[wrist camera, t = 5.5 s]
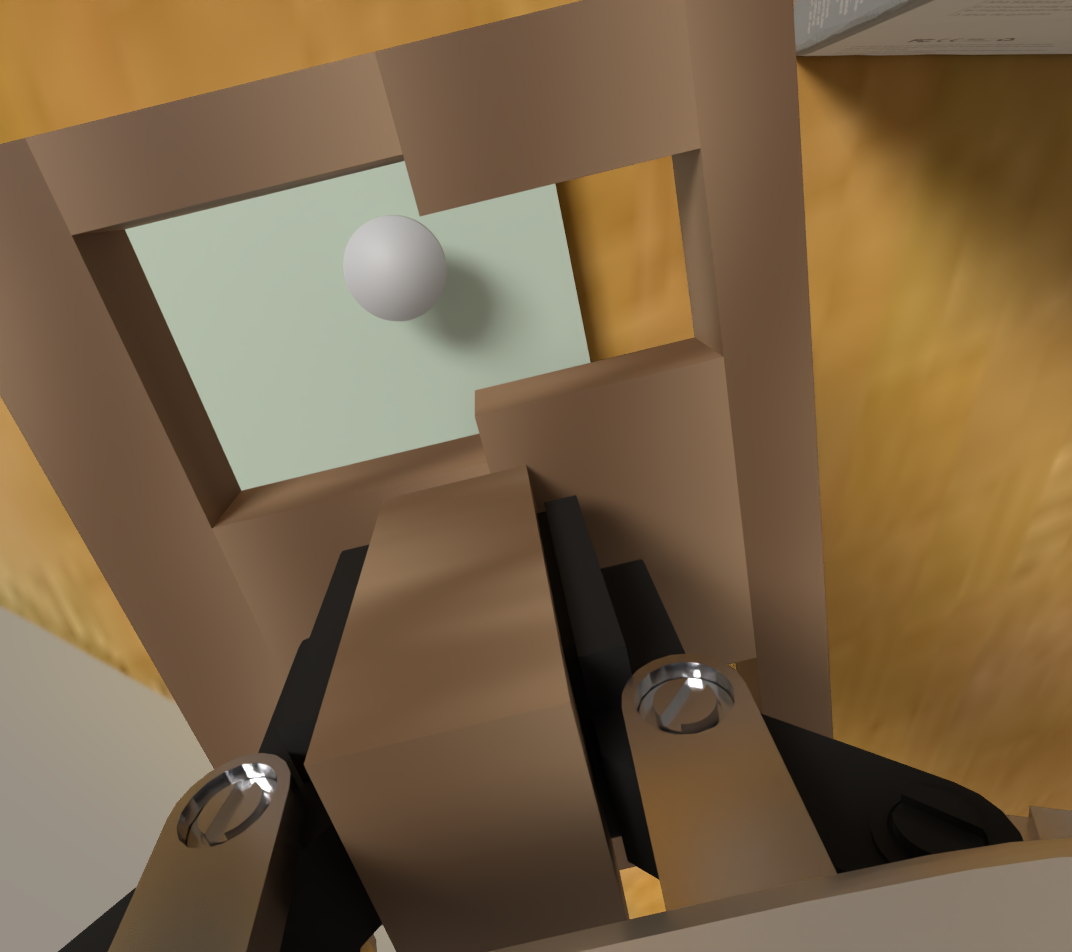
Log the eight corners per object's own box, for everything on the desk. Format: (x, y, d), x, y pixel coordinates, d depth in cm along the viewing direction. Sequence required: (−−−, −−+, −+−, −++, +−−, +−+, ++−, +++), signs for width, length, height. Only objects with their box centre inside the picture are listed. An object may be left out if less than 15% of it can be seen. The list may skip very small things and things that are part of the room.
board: (531, 83, 23) (542, 63, 19) (621, 532, 30) (641, 581, 26) (82, 196, 23) (7, 197, 19) (277, 615, 30) (250, 675, 27)
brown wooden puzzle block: (746, -17, 10) (1258, -410, 3) (806, 766, 16) (1025, 1144, 10) (-43, 177, 10) (-986, 154, 4) (326, 877, 16) (230, 1322, 10)
